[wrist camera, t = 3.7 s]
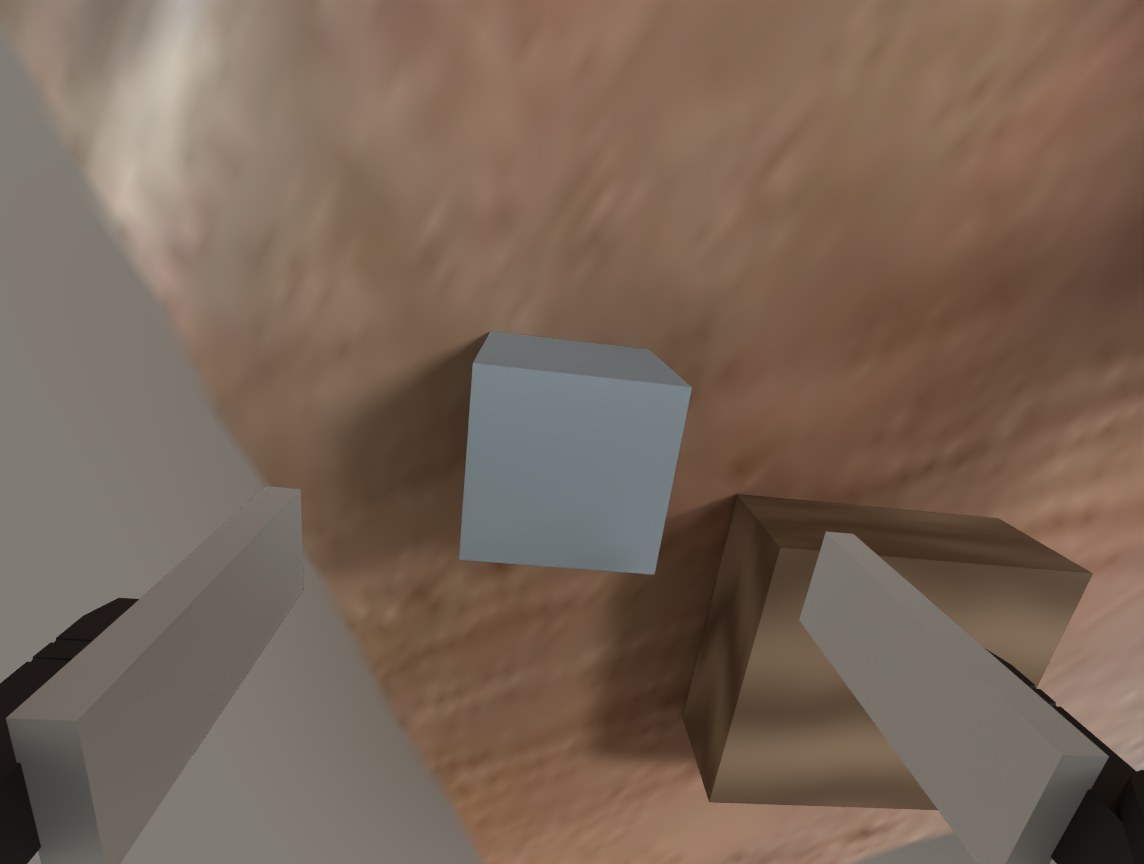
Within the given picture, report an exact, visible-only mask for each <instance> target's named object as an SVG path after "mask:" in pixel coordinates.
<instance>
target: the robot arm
mask: <svg viewBox="0 0 1144 864" xmlns="http://www.w3.org/2000/svg"><path fill="white" fill-rule="evenodd" d="M303 590H304V583H303V547H302V513H301V489H295V488H282V487H270V486H266V487H265V488H264V489H263V490H262V491H261V492H259V493H258V494H257V495H256V496H255V497H254V498H253V499H252V500H250V501H249V502H248V503H247V504H246V505H245V506H244V507H243V508H241V509H240V510H239V511H238V512H237V513H236V514H235V515H234V516H232V517H231V518H230V519H229V520H228V521H227V522H226V523H225V524H223V525H222V526H221V527H220V528H219V529H218V530H217V531H216V532H214V533H213V534H212V535H211V536H210V537H209V538H208V539H207V540H205V541H204V542H203V543H202V544H201V545H200V546H199V547H198V548H197V549H195V550H194V551H193V552H192V553H191V554H190V555H189V556H188V557H187V558H185V560H183V561H182V562H181V563H180V564H179V565H177V566H176V567H175V568H174V569H173V570H172V571H171V572H170V573H169V574H167V575H166V576H165V577H164V578H163V579H162V580H161V581H159V582H158V583H157V584H156V585H155V586H154V587H153V588H152V589H151V590H149V591H148V592H147V593H146V594H145V595H144V596H143V597H141V598H140V599H128V598H118V599H116V600H114V601H112V602H110V603H108V604H106V605H104V606H102V607H100V608H98V609H96V610H94V611H92V612H90V613H88V614H86V615H84V616H83V617H81V618H80V619H79V620H78V621H76V622H75V623H74V624H73V625H71V626H70V627H69V628H68V629H67V630H65V631H64V632H63V633H62V634H60V635H59V636H58V637H57V638H56V641H55V642H54V643H50V644H48V645H47V646H46V647H45V648H43V649H42V650H41V651H40V652H38V653H37V654H36V655H35V656H33V660H32V661H31V662H26V663H25V664H24V665H22V666H21V667H20V668H19V669H17V670H16V671H15V672H14V673H13V674H11V675H10V676H9V677H8V678H6V679H5V680H4V681H3V682H2V683H0V864H27V863H28V862H29V861H30V860H31V858H32V857H33V856H34V855H35V854H36V852H37V851H39V856H40V860H41V863H42V864H121V862H122V860H123V859H124V857H125V856H126V854H127V853H128V852H129V850H130V848H131V847H132V846H133V844H134V843H135V841H136V840H137V838H138V837H139V835H140V834H141V832H142V831H143V829H144V828H145V826H146V824H147V823H148V822H149V820H150V818H151V817H152V816H153V814H154V813H155V811H156V810H157V808H158V807H159V805H160V804H161V802H162V801H163V799H164V798H165V796H166V795H167V793H168V792H169V790H170V789H171V787H172V786H173V784H174V783H175V781H176V780H177V778H178V777H179V775H180V774H181V772H182V771H183V769H184V768H185V766H186V765H187V763H188V762H189V760H190V759H191V757H192V756H193V754H194V753H195V751H196V750H197V748H198V747H199V745H200V744H201V742H202V741H203V739H204V738H205V736H206V735H207V734H208V732H209V731H210V729H211V727H212V726H213V724H214V723H215V721H216V720H217V718H218V717H219V716H220V714H221V713H222V711H223V709H224V708H225V707H226V705H227V704H228V702H229V701H230V699H231V698H232V696H233V695H234V693H235V692H236V690H237V689H238V687H239V686H240V684H241V683H242V681H243V680H244V678H245V677H246V675H247V674H248V672H249V671H250V669H251V668H252V666H253V665H254V663H255V662H256V660H257V659H258V657H259V656H260V654H261V653H262V651H263V650H264V648H265V647H266V645H267V644H268V642H269V641H270V639H271V638H272V636H273V635H274V633H275V632H276V630H277V629H278V627H279V626H280V624H281V623H282V621H283V620H284V618H285V617H286V615H287V614H288V612H289V611H290V609H291V608H292V606H293V605H294V603H295V602H296V600H297V599H298V597H299V596H300V594H301V593H302V591H303ZM799 621H800V622H801V623H802V625H803V626H804V627H805V629H806V630H807V632H808V633H809V634H810V636H811V637H812V638H813V640H814V641H815V643H816V644H817V645H818V647H819V648H820V649H821V651H822V652H823V653H824V655H825V656H826V658H827V659H828V660H829V662H830V663H831V664H832V666H833V667H834V668H835V670H836V671H837V673H838V674H839V675H840V677H841V678H842V679H843V681H844V682H845V684H846V685H847V686H848V688H849V689H850V690H851V692H852V693H853V694H854V696H855V697H856V699H857V700H858V701H859V703H860V704H861V705H862V707H863V708H864V709H865V711H866V712H867V714H868V715H869V716H870V718H871V719H872V720H873V722H874V723H875V725H876V726H877V727H878V729H879V730H880V731H881V733H882V734H883V735H884V737H885V738H886V740H887V741H888V742H889V744H890V745H891V746H892V748H893V749H894V750H895V752H896V753H897V755H898V756H899V757H900V759H901V760H902V761H903V763H904V764H905V765H906V767H907V768H908V770H909V771H910V772H911V774H912V775H913V776H914V778H915V779H916V781H917V782H918V783H919V785H920V786H921V787H922V789H923V790H924V791H925V793H926V794H927V796H928V797H929V798H930V800H931V801H932V802H933V804H934V805H935V806H936V808H937V809H938V811H939V812H940V813H941V815H942V816H943V817H944V819H945V820H946V822H947V823H948V824H949V826H950V827H951V828H952V830H953V831H954V832H955V834H956V835H957V837H959V839H960V841H961V842H962V843H963V845H964V846H965V847H966V849H967V850H968V851H969V853H970V854H971V855H972V857H973V858H974V860H975V861H976V863H977V864H1049V863H1050V861H1051V860H1052V859H1053V860H1054V861H1055V862H1056V863H1057V864H1144V770H1140V771H1138V772H1136V771H1135V770H1134V769H1133V768H1132V767H1131V766H1129V765H1128V764H1127V763H1126V762H1125V761H1124V760H1122V759H1121V758H1120V757H1119V756H1118V755H1117V754H1115V753H1114V752H1113V751H1112V750H1111V749H1109V748H1108V747H1107V746H1106V745H1105V744H1104V743H1102V742H1101V741H1100V740H1099V739H1098V738H1097V737H1095V736H1094V735H1093V734H1092V733H1091V732H1090V731H1088V730H1087V729H1086V728H1085V727H1084V726H1083V725H1081V724H1080V723H1079V722H1078V721H1077V720H1076V719H1074V718H1073V717H1072V716H1071V715H1070V714H1069V713H1067V712H1066V711H1065V710H1064V709H1063V708H1062V707H1057V706H1056V704H1055V703H1056V702H1055V701H1053V700H1052V699H1051V698H1050V697H1049V696H1048V695H1046V694H1045V693H1044V692H1043V691H1042V690H1041V689H1036V687H1035V684H1034V683H1032V682H1031V681H1030V680H1029V679H1028V678H1027V677H1025V676H1024V675H1023V674H1022V673H1021V672H1020V671H1018V670H1017V669H1016V668H1015V667H1014V666H1013V665H1011V664H1010V663H1008V662H1007V661H1005V660H1003V659H1002V658H1000V657H998V656H997V655H995V654H994V653H992V652H990V651H989V650H987V649H985V648H984V647H983V646H981V645H980V644H979V643H978V642H977V641H976V640H975V639H973V638H972V637H971V636H970V635H969V634H968V633H967V632H965V631H964V630H963V629H962V628H961V627H960V626H959V625H957V624H956V623H955V622H954V621H953V620H952V619H950V618H949V617H948V616H947V615H946V614H945V613H944V612H942V611H941V610H940V609H939V608H938V607H937V606H936V605H934V604H933V603H932V602H931V601H930V600H929V599H928V598H926V597H925V596H924V595H923V594H922V593H921V592H919V591H918V590H917V589H916V588H915V587H914V586H913V585H911V584H910V583H909V582H908V581H907V580H906V579H905V578H903V577H902V576H901V575H900V574H899V573H898V572H897V571H895V570H894V569H893V568H892V567H891V566H890V565H888V564H887V563H886V562H885V561H884V560H883V559H882V558H880V557H879V556H878V555H877V554H876V553H875V552H874V551H872V550H871V549H870V548H869V547H868V546H867V545H866V544H864V543H863V542H862V541H861V540H860V539H859V538H857V537H856V536H855V535H854V534H850V533H837V532H826V533H825V536H824V539H823V543H822V546H821V549H820V553H819V556H818V559H817V563H816V566H815V569H814V573H813V576H812V579H811V583H810V586H809V589H808V592H807V596H806V599H805V602H804V606H803V609H802V612H801V616H800V619H799Z"/></svg>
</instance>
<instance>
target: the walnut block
mask: <svg viewBox="0 0 1144 864" xmlns="http://www.w3.org/2000/svg"><path fill="white" fill-rule="evenodd" d="M826 532H837V533H850V534H854V535H855V536H856V537H857V538H859V539H860V540H861V541H862V542H863V543H864V544H866V545H867V546H868V547H869V548H870V549H871V550H872V551H874V552H875V553H876V554H877V555H878V556H879V557H880V558H882V559H883V560H884V561H885V562H886V563H887V564H888V565H890V566H891V567H892V568H893V569H894V570H895V571H897V572H898V573H899V574H900V575H901V576H902V577H903V578H905V579H906V580H907V581H908V582H909V583H910V584H911V585H913V586H914V587H915V588H916V589H917V590H918V591H919V592H921V593H922V594H923V595H924V596H925V597H926V598H928V599H929V600H930V601H931V602H932V603H933V604H934V605H936V606H937V607H938V608H939V609H940V610H941V611H942V612H944V613H945V614H946V615H947V616H948V617H949V618H950V619H952V620H953V621H954V622H955V623H956V624H957V625H959V626H960V627H961V628H962V629H963V630H964V631H965V632H967V633H968V634H969V635H970V636H971V637H972V638H973V639H975V640H976V641H977V642H978V643H979V644H980V645H981V646H983V647H984V648H985V649H987V650H989V651H990V652H992V653H994V654H995V655H997V656H998V657H1000V658H1002V659H1003V660H1005V661H1007V662H1008V663H1010V664H1011V665H1013V666H1014V667H1015V668H1016V669H1017V670H1018V671H1020V672H1021V673H1022V674H1023V675H1024V676H1025V677H1027V678H1028V679H1029V680H1030V681H1031V682H1032V683H1034V684H1035V687H1036V688H1037V686H1038V684H1039V682H1040V680H1041V678H1042V676H1043V674H1044V672H1045V670H1046V668H1047V666H1048V664H1049V662H1050V660H1051V658H1052V656H1053V654H1054V651H1055V649H1056V647H1057V645H1058V643H1059V641H1060V639H1061V637H1062V635H1063V633H1064V631H1065V629H1066V627H1067V625H1068V623H1069V621H1070V619H1071V617H1072V615H1073V613H1074V611H1075V609H1076V607H1077V605H1078V603H1079V601H1080V599H1081V597H1082V595H1083V593H1084V591H1085V589H1086V586H1087V584H1088V582H1089V580H1090V578H1091V576H1092V574H1093V573H1091V572H1089V571H1088V570H1086V569H1084V568H1082V567H1081V566H1079V565H1077V564H1076V563H1074V562H1072V561H1070V560H1069V559H1067V558H1065V557H1064V556H1062V555H1060V554H1058V553H1057V552H1055V551H1053V550H1052V549H1050V548H1048V547H1046V546H1045V545H1043V544H1041V543H1040V542H1038V541H1036V540H1035V539H1033V538H1031V537H1029V536H1028V535H1026V534H1024V533H1023V532H1021V531H1019V530H1017V529H1016V528H1014V527H1012V526H1011V525H1009V524H1007V523H1005V522H1004V521H1002V520H1000V519H999V518H988V517H977V516H966V515H955V514H945V513H934V512H923V511H912V510H901V509H891V508H880V507H869V506H858V505H847V504H836V503H826V502H815V501H804V500H793V499H782V498H772V497H761V496H750V495H739V494H737V497H736V501H735V505H734V509H733V513H732V517H731V521H730V525H729V529H728V534H727V538H726V542H725V546H724V550H723V554H722V558H721V562H720V566H719V571H718V575H717V579H716V583H715V587H714V591H713V595H712V599H711V604H710V608H709V612H708V616H707V620H706V624H705V628H704V632H703V636H702V641H701V645H700V649H699V653H698V657H697V661H696V665H695V669H694V673H693V678H692V682H691V686H690V690H689V694H688V698H687V702H686V706H685V711H684V715H683V719H684V723H685V726H686V729H687V732H688V736H689V739H690V742H691V745H692V748H693V752H694V755H695V758H696V761H697V764H698V768H699V771H700V774H701V777H702V781H703V784H704V787H705V790H706V793H707V797H708V800H709V802H719V803H748V804H777V805H806V806H835V807H864V808H893V809H922V810H938V809H937V808H936V806H935V805H934V804H933V802H932V801H931V800H930V798H929V797H928V796H927V794H926V793H925V791H924V790H923V789H922V787H921V786H920V785H919V783H918V782H917V781H916V779H915V778H914V776H913V775H912V774H911V772H910V771H909V770H908V768H907V767H906V765H905V764H904V763H903V761H902V760H901V759H900V757H899V756H898V755H897V753H896V752H895V750H894V749H893V748H892V746H891V745H890V744H889V742H888V741H887V740H886V738H885V737H884V735H883V734H882V733H881V731H880V730H879V729H878V727H877V726H876V725H875V723H874V722H873V720H872V719H871V718H870V716H869V715H868V714H867V712H866V711H865V709H864V708H863V707H862V705H861V704H860V703H859V701H858V700H857V699H856V697H855V696H854V694H853V693H852V692H851V690H850V689H849V688H848V686H847V685H846V684H845V682H844V681H843V679H842V678H841V677H840V675H839V674H838V673H837V671H836V670H835V668H834V667H833V666H832V664H831V663H830V662H829V660H828V659H827V658H826V656H825V655H824V653H823V652H822V651H821V649H820V648H819V647H818V645H817V644H816V643H815V641H814V640H813V638H812V637H811V636H810V634H809V633H808V632H807V630H806V629H805V627H804V626H803V625H802V623H801V622H800V621H799V619H800V616H801V612H802V609H803V606H804V602H805V599H806V596H807V592H808V589H809V586H810V583H811V579H812V576H813V573H814V569H815V566H816V563H817V559H818V556H819V553H820V549H821V546H822V543H823V539H824V536H825V533H826Z"/></svg>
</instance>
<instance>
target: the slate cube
mask: <svg viewBox="0 0 1144 864" xmlns="http://www.w3.org/2000/svg"><path fill="white" fill-rule="evenodd" d="M691 390H692V387H691V386H690V385H689V384H688V383H687V382H685V381H684V380H683V379H682V378H681V377H680V376H679V375H678V374H676V373H675V372H674V371H673V370H672V369H671V368H670V367H669V366H667V365H666V364H665V363H664V362H663V361H662V360H661V359H660V358H658V357H657V356H656V355H655V354H654V353H653V352H652V351H651V350H648V349H640V348H631V347H623V346H614V345H606V344H597V343H589V342H580V341H572V340H563V339H555V338H546V337H538V336H529V335H521V334H512V333H504V332H495V331H490V333H489V335H488V337H487V339H486V340H485V342H484V344H483V346H482V348H481V349H480V351H479V353H478V355H477V356H476V358H475V360H474V362H473V368H472V382H471V396H470V410H469V425H468V439H467V453H466V467H465V482H464V496H463V510H462V524H461V538H460V553H459V560H469V561H482V562H495V563H508V564H522V565H535V566H548V567H561V568H574V569H588V570H601V571H614V572H627V573H640V574H655V569H656V564H657V559H658V554H659V549H660V544H661V539H662V534H663V529H664V524H665V519H666V514H667V510H668V505H669V500H670V495H671V490H672V485H673V480H674V475H675V470H676V465H677V460H678V455H679V450H680V445H681V440H682V435H683V430H684V425H685V420H686V415H687V410H688V405H689V400H690V395H691Z"/></svg>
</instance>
